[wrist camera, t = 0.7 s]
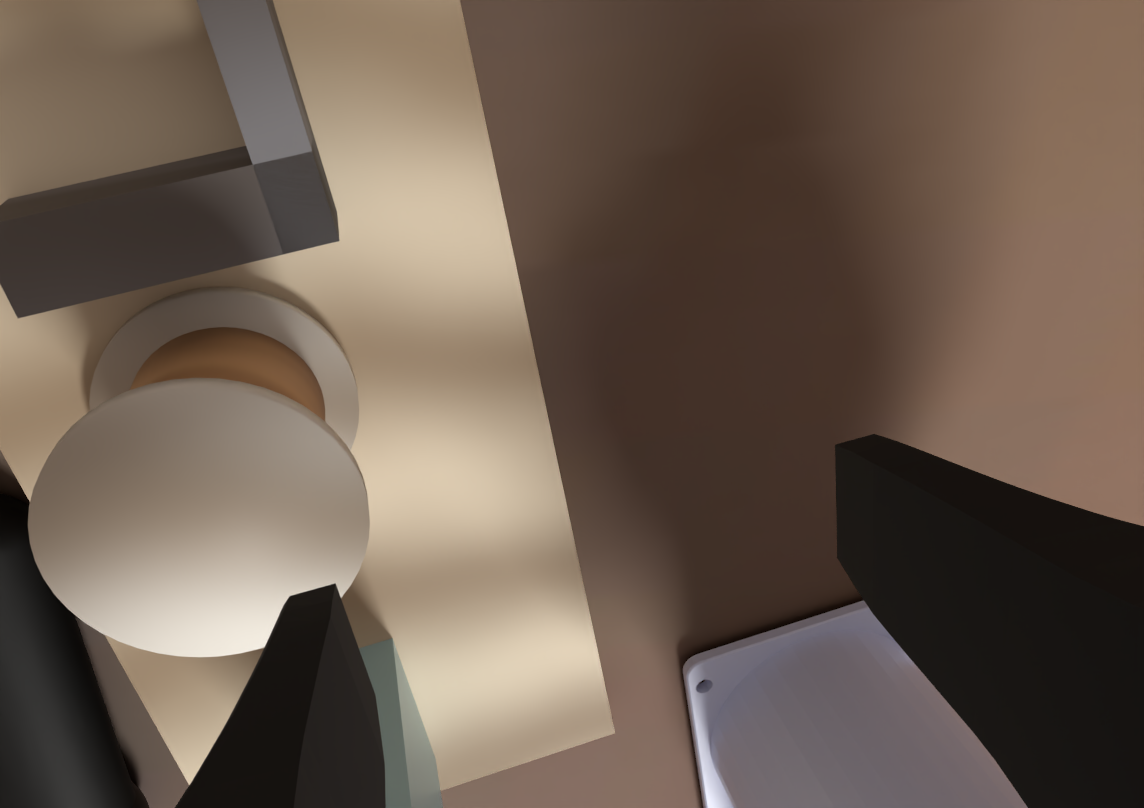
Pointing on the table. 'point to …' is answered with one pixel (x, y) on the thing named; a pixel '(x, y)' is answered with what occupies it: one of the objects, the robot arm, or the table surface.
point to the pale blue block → (401, 732)
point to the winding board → (398, 322)
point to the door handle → (49, 693)
